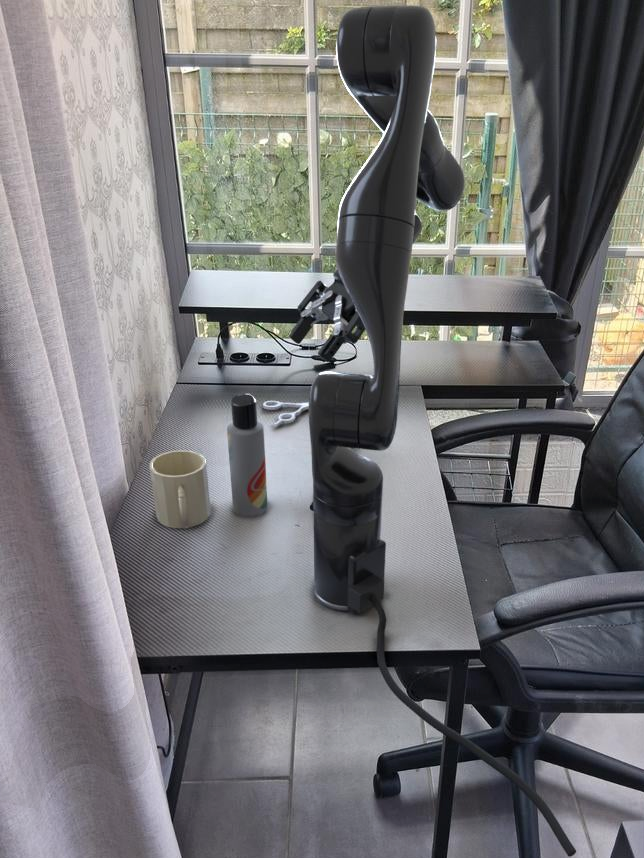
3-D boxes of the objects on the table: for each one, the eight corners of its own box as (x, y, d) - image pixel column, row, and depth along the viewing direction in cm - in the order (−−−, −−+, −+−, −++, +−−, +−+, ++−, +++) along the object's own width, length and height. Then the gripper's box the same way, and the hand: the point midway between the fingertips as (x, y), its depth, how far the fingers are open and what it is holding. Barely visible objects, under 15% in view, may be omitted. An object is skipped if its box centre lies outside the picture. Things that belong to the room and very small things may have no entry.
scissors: (254, 403, 164) (340, 385, 173) (254, 407, 165) (340, 389, 173) (275, 424, 157) (363, 404, 165) (275, 427, 157) (363, 408, 166)
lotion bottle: (274, 508, 132) (269, 398, 122) (247, 521, 129) (240, 409, 118) (252, 495, 136) (246, 386, 125) (226, 507, 132) (216, 397, 121)
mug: (155, 503, 132) (148, 453, 127) (208, 497, 135) (203, 447, 129) (158, 543, 123) (151, 490, 118) (214, 536, 125) (209, 484, 120)
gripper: (329, 240, 126) (269, 322, 126) (382, 262, 117) (317, 351, 117) (356, 268, 132) (298, 347, 132) (409, 292, 122) (347, 377, 123)
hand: (307, 349), depth 125 cm, fingers open, 8 cm apart
